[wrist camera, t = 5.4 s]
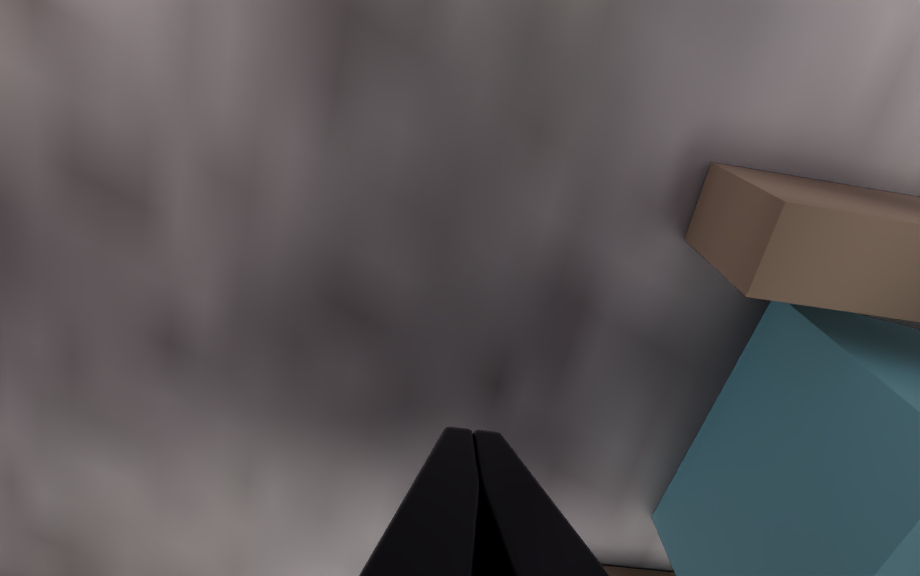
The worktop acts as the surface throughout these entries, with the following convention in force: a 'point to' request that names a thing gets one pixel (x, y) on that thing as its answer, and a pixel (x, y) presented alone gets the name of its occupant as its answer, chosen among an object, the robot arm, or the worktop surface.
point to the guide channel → (807, 247)
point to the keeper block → (805, 455)
